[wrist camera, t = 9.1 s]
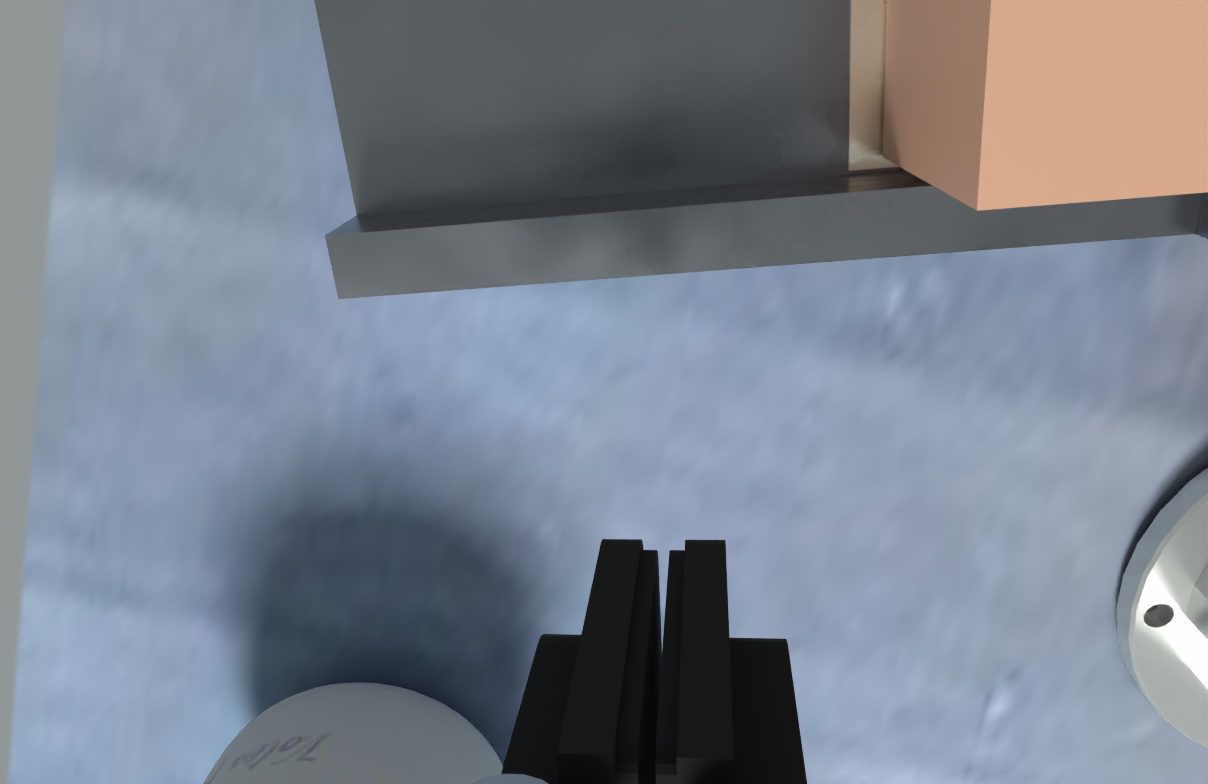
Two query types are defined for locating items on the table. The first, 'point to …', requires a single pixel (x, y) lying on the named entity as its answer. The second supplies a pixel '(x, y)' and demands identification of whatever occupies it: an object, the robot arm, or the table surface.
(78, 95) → the table surface
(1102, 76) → the block
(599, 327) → the table surface
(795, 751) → the robot arm
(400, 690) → the teacup
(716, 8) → the chute
